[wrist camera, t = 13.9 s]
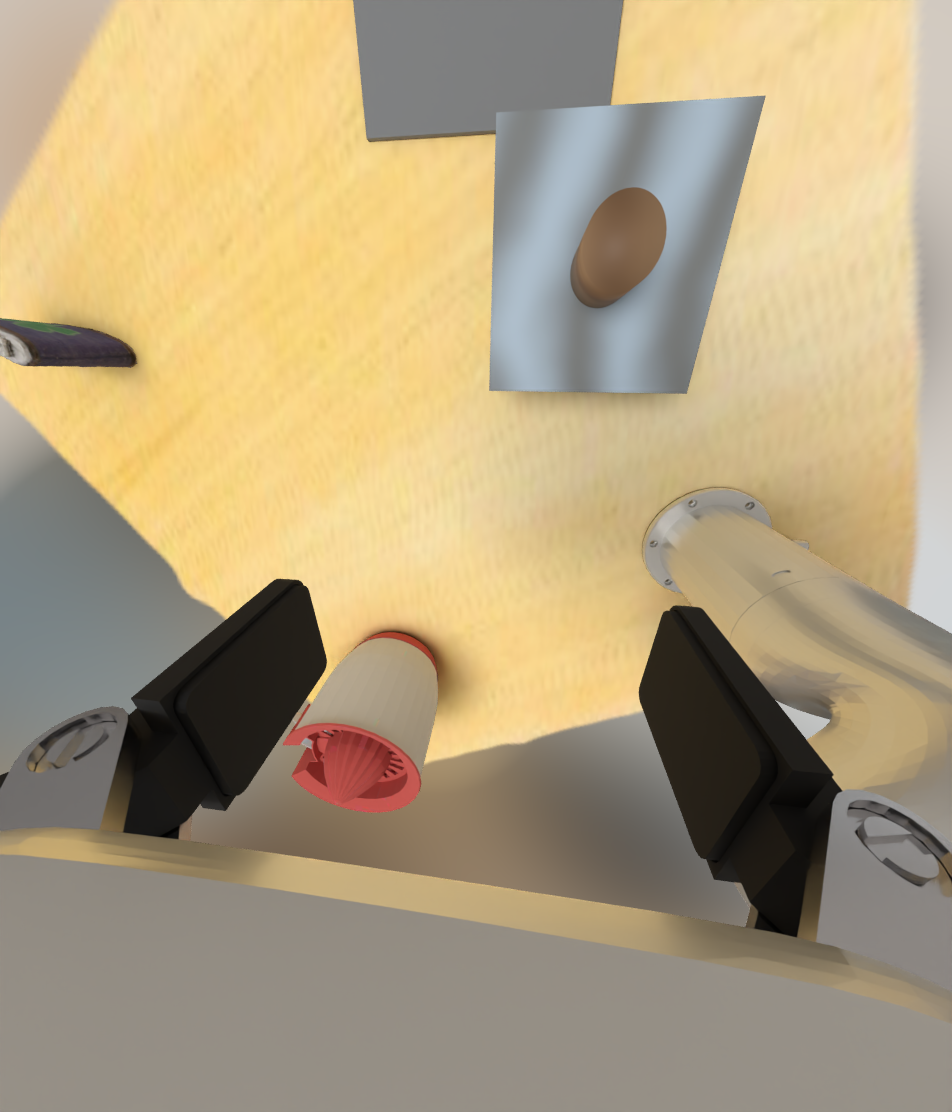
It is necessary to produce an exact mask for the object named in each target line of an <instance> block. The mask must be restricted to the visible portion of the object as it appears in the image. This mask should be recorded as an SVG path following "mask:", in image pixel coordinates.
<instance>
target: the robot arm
mask: <svg viewBox="0 0 952 1112" xmlns="http://www.w3.org/2000/svg"><path fill="white" fill-rule="evenodd" d="M689 501H691V502H690V503H689ZM651 541H652V542H651ZM808 549H809V544H808V542H807V541H804V540H790V539H788V538H787V537H785V536H783V535H782V534H780V533H778V532H776V531H775V530H773V529H772V523H771V519H770V516H769V514H768V512H767V510H766V509H765V507H764V506H763V505H762V504H761V503H760V502H759V501H758V500H756V499H754V498H753V497H751V496H749V495H747V494H745V493H743V492H741V491H738V490H734V489H729V488H709V489H702V490H699V491H696V492H692V493H689V494H687V495H685V496H683V497H681V498H679V499H677V500H675V501H674V502H673V503H671V504H670V505H668V506H667V507H666V508H665V509H663V510H662V511H661V512H660V513H659V514H658V515H657V517H656V518H655V519H654V520H653V522H652V523H651V525H650V526H649V528H648V530H647V532H646V535H645V538H644V541H643V549H642V554H643V561H644V563H645V566H646V568H647V570H648V571H649V573H650V575H651V576H652V577H653V578H654V579H655V580H656V582H657V583H659V584H660V585H661V586H663V587H665V588H667V589H669V590H671V591H674V592H678V593H682V594H684V596H685V597H686V598H687V600H688V601H689V602H690V604H691V605H692V606H693V607H690V606H673V607H672V608H671V609H670V611H665V612H664V613H663V615H662V617H661V620H660V624H659V627H658V630H657V633H656V636H655V639H654V643H653V646H652V649H651V652H650V655H649V658H648V661H647V665H646V668H645V671H644V674H643V677H642V680H641V684H640V687H639V699H640V703H641V706H642V708H643V711H644V713H645V716H646V719H647V722H648V724H649V727H650V729H651V732H652V735H653V738H654V740H655V743H656V746H657V749H658V751H659V754H660V757H661V759H662V762H663V765H664V767H665V770H666V773H667V776H668V778H669V781H670V784H671V786H672V789H673V792H674V794H675V797H676V800H677V802H678V805H679V808H680V811H681V813H682V816H683V819H684V821H685V824H686V827H687V829H688V832H689V835H690V837H691V840H692V843H693V845H694V848H695V850H696V852H697V853H698V855H699V856H700V857H701V858H703V859H706V860H707V862H708V865H709V868H710V870H711V873H712V875H713V878H714V879H715V880H722V881H729V882H734V883H735V885H736V887H737V889H738V890H739V892H740V894H741V896H742V897H743V899H744V900H745V902H746V904H747V905H748V907H749V908H750V910H749V914H748V918H747V922H746V926H745V927H740V926H734V925H729V924H724V923H718V922H712V921H707V920H701V919H695V918H690V917H684V916H678V915H673V914H667V913H661V912H655V911H649V910H642V909H636V908H630V907H623V906H616V905H610V904H604V903H598V902H591V901H585V900H579V899H572V898H566V897H559V896H553V895H547V894H540V893H534V892H527V891H521V890H515V889H508V888H502V887H496V886H488V885H482V884H476V883H469V882H462V881H456V880H449V879H442V878H436V877H430V876H422V875H416V874H409V873H403V872H396V871H390V870H383V869H376V868H370V867H363V866H356V865H350V864H343V863H336V862H330V861H323V860H316V859H310V858H303V857H296V856H289V855H282V854H275V853H268V852H261V851H255V850H247V849H241V848H233V847H227V846H220V845H212V844H206V843H199V842H192V841H190V840H191V823H192V814H193V813H194V811H195V810H196V809H197V807H198V806H199V804H201V806H202V807H203V808H208V809H215V810H223V811H226V810H227V808H228V807H229V805H230V804H231V802H232V801H233V799H234V798H235V796H236V795H240V794H241V793H242V792H244V790H245V789H246V788H247V787H248V785H249V784H250V782H251V781H252V779H253V778H254V776H255V775H256V773H257V772H258V770H259V769H260V767H261V766H262V764H263V763H264V761H265V760H266V758H267V757H268V755H269V754H270V752H271V751H272V749H273V748H274V746H275V745H276V743H277V742H278V740H279V738H280V737H281V736H282V734H283V733H284V731H285V729H286V728H287V727H288V725H289V724H290V722H291V721H292V719H293V718H294V716H295V715H296V713H297V712H298V710H299V709H300V707H301V706H302V704H303V703H304V701H305V700H306V698H307V697H308V695H309V694H310V692H311V691H312V689H313V688H314V686H315V685H316V683H317V682H318V680H319V679H320V677H321V676H322V674H323V673H324V671H325V668H326V664H327V659H326V654H325V651H324V647H323V643H322V639H321V635H320V631H319V628H318V624H317V620H316V616H315V612H314V608H313V605H312V601H311V597H310V593H309V590H308V588H307V587H306V586H304V585H303V583H302V582H301V581H299V580H290V579H276V580H274V581H273V582H271V583H270V584H269V585H268V586H267V587H265V588H264V589H263V590H262V591H260V592H259V593H258V594H257V595H256V596H254V597H253V598H252V599H251V600H250V601H248V602H247V603H246V604H245V605H243V606H242V607H241V608H240V609H239V610H237V611H236V612H235V613H234V614H233V615H231V616H230V617H229V618H228V619H226V620H225V621H224V622H223V623H222V624H220V625H219V626H218V627H217V628H216V629H215V630H213V631H212V632H211V633H209V634H208V635H207V636H206V637H205V638H203V639H202V640H201V641H200V642H199V643H197V644H196V645H195V646H194V647H192V648H191V649H190V650H189V651H188V652H186V653H185V654H184V655H183V656H182V657H180V658H179V659H178V660H177V661H175V662H174V663H173V664H172V665H171V666H169V667H168V668H167V669H166V670H165V671H163V672H162V673H161V674H160V675H158V676H157V677H156V678H155V679H154V680H152V681H151V682H150V683H149V684H148V685H146V686H145V687H144V688H143V689H142V690H140V691H139V692H138V693H137V694H135V695H134V696H133V697H132V698H131V699H132V701H133V702H134V704H135V705H136V706H137V709H135V710H134V711H133V712H132V713H131V714H130V715H128V713H127V712H126V711H125V710H124V709H123V708H119V707H114V706H111V707H100V708H97V709H93V710H90V711H86V712H83V713H81V714H78V715H76V716H73V717H71V718H69V719H67V720H65V721H63V722H61V723H59V724H58V725H56V726H54V727H52V728H51V729H49V730H48V731H46V732H45V733H43V734H42V735H41V736H39V737H38V738H36V739H35V740H34V741H33V742H32V743H31V744H30V745H28V746H27V747H26V748H25V749H24V750H23V751H22V753H21V754H20V755H19V757H18V758H17V760H16V761H15V762H14V764H13V766H12V768H11V769H10V771H9V772H7V773H5V774H2V775H0V1112H952V634H951V633H949V632H948V631H946V630H944V629H942V628H940V627H938V626H936V625H935V624H933V623H931V622H929V621H928V620H926V619H924V618H922V617H920V616H919V615H917V614H915V613H913V612H911V611H910V610H908V609H906V608H904V607H902V606H901V605H899V604H897V603H895V602H894V601H892V600H890V599H889V598H887V597H885V596H884V595H882V594H880V593H878V592H877V591H875V590H873V589H872V588H870V587H868V586H867V585H865V584H863V583H862V582H860V581H858V580H857V579H855V578H853V577H852V576H850V575H848V574H847V573H845V572H843V571H842V570H840V569H838V568H837V567H835V566H833V565H832V564H830V563H828V562H827V561H825V560H823V559H822V558H820V557H818V556H817V555H815V554H813V553H812V552H810V551H808ZM775 700H776V701H778V702H780V703H783V704H785V705H787V706H790V707H792V708H794V709H797V710H800V711H803V712H806V713H809V714H812V715H816V716H819V717H823V718H826V719H830V722H829V723H828V724H827V725H826V727H824V728H823V729H822V730H820V731H819V732H818V733H816V734H815V735H813V736H812V737H810V738H809V739H807V740H806V739H805V737H804V736H803V735H802V734H801V732H800V731H799V730H798V729H797V727H796V726H795V725H794V723H793V722H792V721H791V720H790V719H789V717H788V716H787V715H786V713H785V712H784V711H783V710H782V708H781V707H780V706H779V704H778V703H777V702H776V701H775Z"/></svg>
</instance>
